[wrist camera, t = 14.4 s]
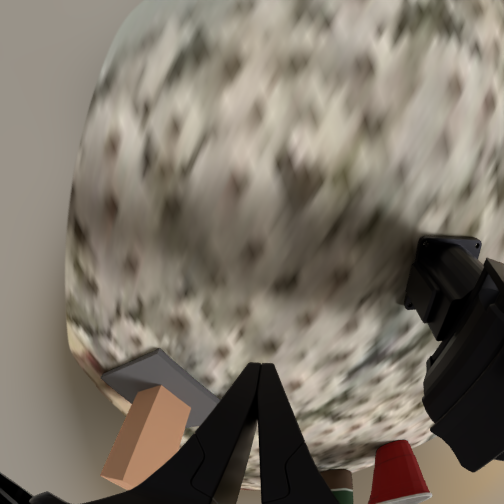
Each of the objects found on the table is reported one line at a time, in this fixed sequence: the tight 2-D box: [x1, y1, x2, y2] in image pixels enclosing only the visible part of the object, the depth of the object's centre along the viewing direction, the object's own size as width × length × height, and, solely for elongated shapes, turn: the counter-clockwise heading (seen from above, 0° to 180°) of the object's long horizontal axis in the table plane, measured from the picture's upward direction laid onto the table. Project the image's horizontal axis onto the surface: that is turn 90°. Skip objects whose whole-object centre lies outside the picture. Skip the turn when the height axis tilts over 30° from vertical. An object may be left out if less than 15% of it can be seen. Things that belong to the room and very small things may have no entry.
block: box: [100, 385, 191, 490], centre depth 24 cm, size 5×5×13 cm
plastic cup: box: [368, 440, 432, 504], centre depth 28 cm, size 11×11×12 cm
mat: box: [101, 349, 220, 428], centre depth 30 cm, size 13×13×1 cm
